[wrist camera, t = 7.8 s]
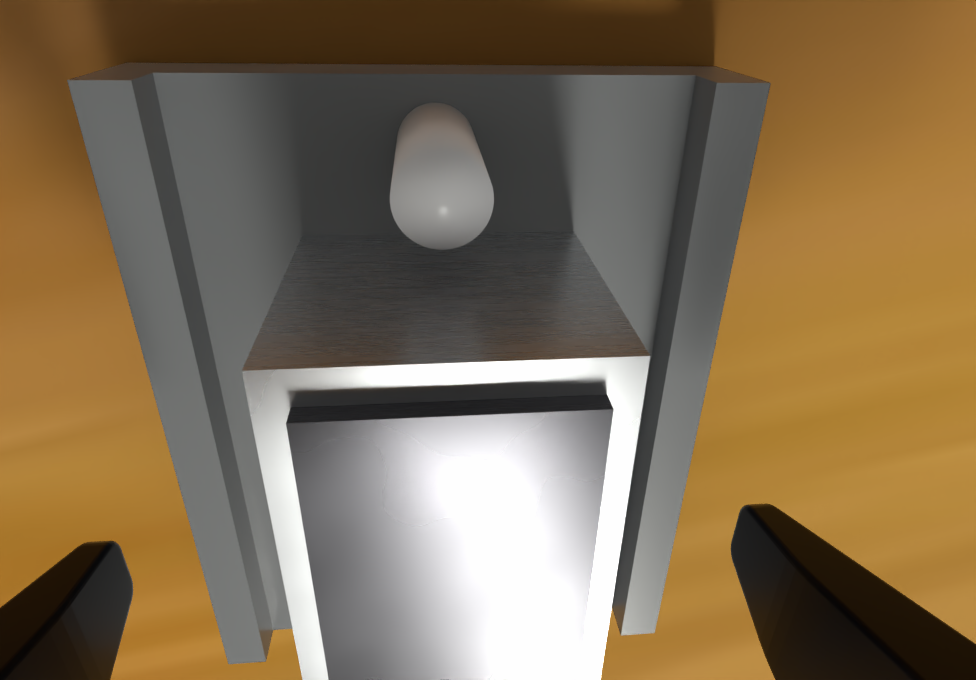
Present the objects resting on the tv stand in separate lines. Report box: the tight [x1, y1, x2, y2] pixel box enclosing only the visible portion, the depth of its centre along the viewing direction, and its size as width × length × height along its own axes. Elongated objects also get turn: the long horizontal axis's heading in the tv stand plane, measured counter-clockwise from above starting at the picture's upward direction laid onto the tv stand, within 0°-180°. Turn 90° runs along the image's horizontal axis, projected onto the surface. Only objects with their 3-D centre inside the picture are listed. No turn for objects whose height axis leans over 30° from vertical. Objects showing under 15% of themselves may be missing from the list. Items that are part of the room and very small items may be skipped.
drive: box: [242, 231, 650, 680], centre depth 11 cm, size 7×4×4 cm, turn 179°
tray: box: [67, 63, 770, 664], centre depth 12 cm, size 12×10×4 cm
